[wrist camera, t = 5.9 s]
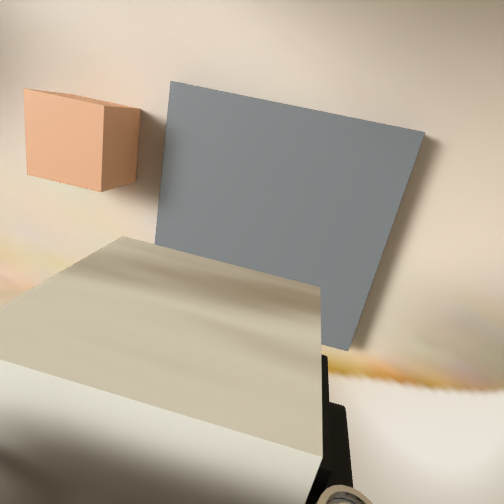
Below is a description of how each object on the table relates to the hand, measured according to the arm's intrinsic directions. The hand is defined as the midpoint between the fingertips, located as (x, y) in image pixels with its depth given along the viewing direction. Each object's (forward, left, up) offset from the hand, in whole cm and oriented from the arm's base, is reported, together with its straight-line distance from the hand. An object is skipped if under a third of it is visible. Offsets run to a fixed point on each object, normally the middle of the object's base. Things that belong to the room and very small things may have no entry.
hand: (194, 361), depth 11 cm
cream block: (0, 0, -1) cm, 1 cm away
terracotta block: (-4, -14, -18) cm, 23 cm away
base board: (0, 0, -18) cm, 18 cm away
